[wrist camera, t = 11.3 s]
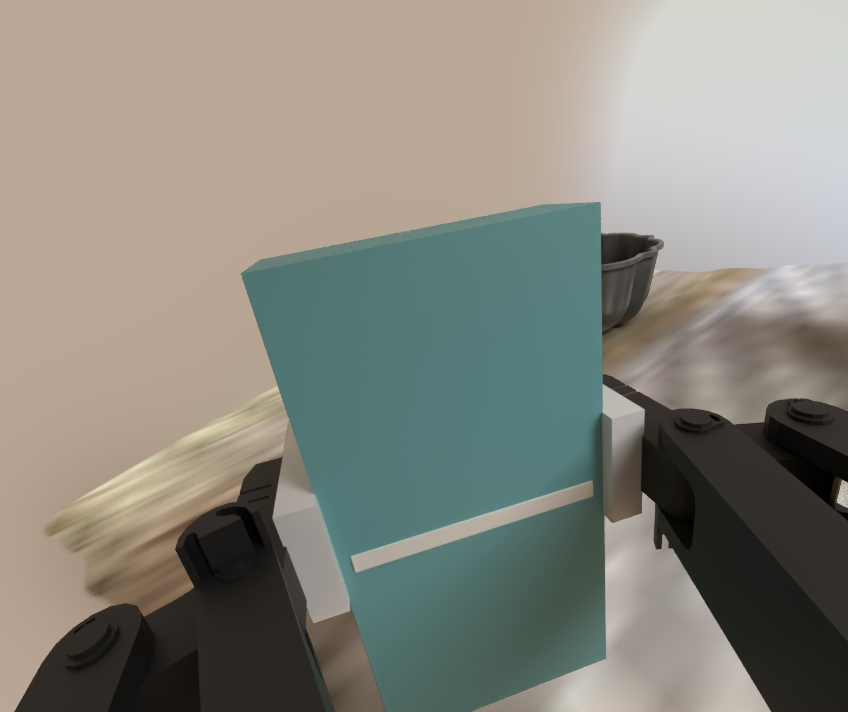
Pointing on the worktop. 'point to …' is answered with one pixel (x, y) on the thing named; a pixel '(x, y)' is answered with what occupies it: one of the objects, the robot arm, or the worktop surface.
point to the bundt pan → (626, 274)
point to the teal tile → (454, 443)
